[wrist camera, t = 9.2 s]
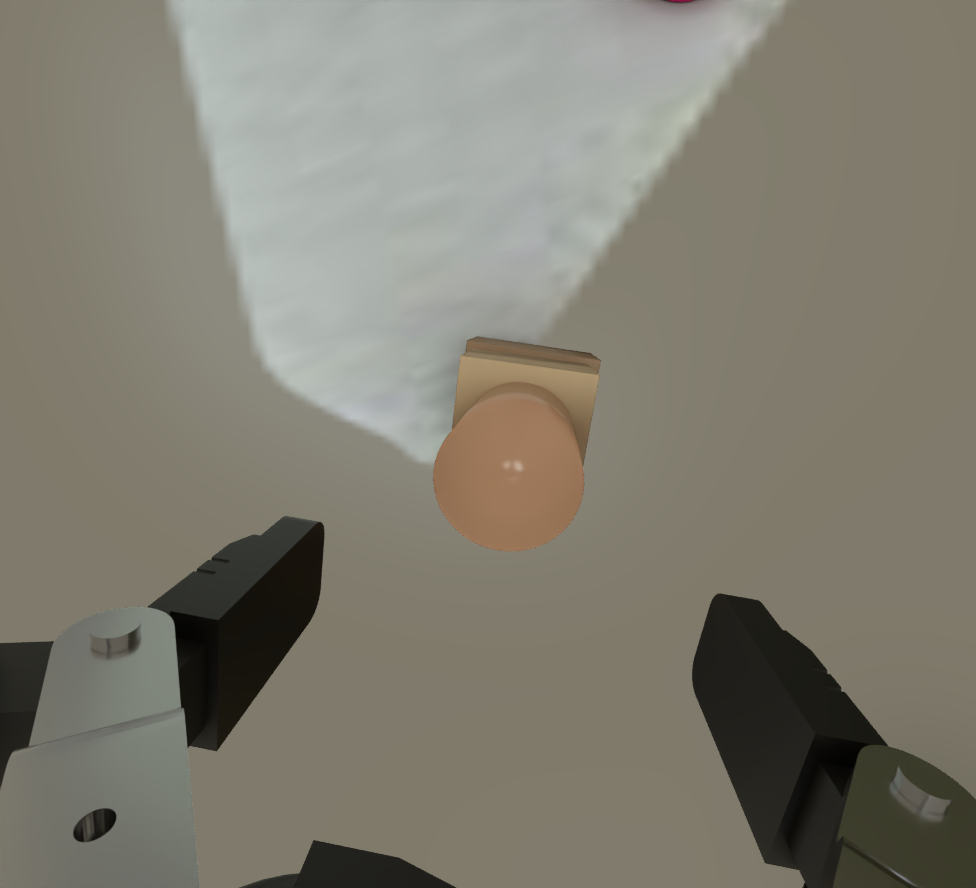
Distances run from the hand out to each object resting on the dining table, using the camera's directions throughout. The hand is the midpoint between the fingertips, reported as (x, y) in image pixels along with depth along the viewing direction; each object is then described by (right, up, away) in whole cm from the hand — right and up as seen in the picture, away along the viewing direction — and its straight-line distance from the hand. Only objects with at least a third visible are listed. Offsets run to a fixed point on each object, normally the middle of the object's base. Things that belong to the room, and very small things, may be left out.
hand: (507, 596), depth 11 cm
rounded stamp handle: (+1, +3, +12) cm, 13 cm away
